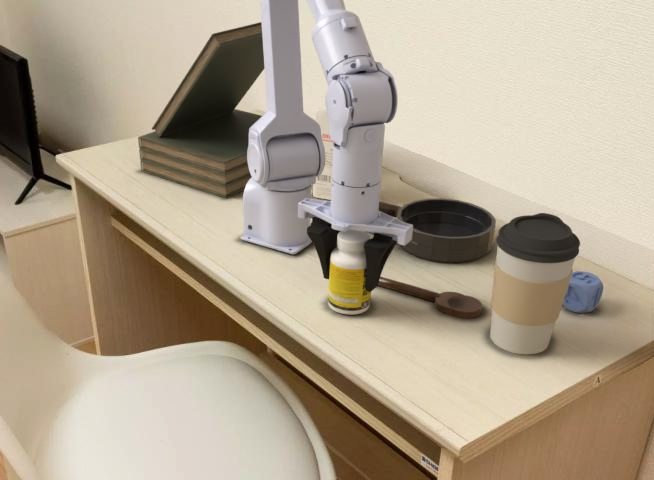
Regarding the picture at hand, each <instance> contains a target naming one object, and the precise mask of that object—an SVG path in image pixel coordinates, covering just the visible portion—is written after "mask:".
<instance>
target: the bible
mask: <svg viewBox="0 0 654 480" xmlns="http://www.w3.org/2000/svg"><path fill="white" fill-rule="evenodd" d="M263 71H265V69H264V53H263V38H262V23H261V21H260V22H255V23H251V24H248V25H244V26H243V25H242V26H238V27H236V28H230V29H226V30H222V31H218V32H215V33H212V34H211V35H210V36H209V39H208V40H207V42H206V43H205V45H204V46H203V48H202V49H201V51H200V52H199V54H198V55H197V57H196V59H195V60H194V62H193V63H192V65H191V66H190V68H189V70H188V71H187V72H186V74H185V76H184V77H183V79H182V81H180V84H179V85H178V87H177V88H176V90H175V91H174V93H173V94H172V96H171V97H170V99H169V100H168V102H167V104H166V105H165V107H164V109H163V110H162V112H161V113H160V115H159V116H158V118H157V119H156V121H155V122H154V124H153V126H152V127H151V130H152V132H149V133H146V134H143V135H140V136H138V137H137V138H138V139H137V140H138V148H139V149H138V151H139V152H138V154H139V159H140V160H139V161H140V171H141V172H143V173H145V174H149V175H152V176H155V177H157V178H160V179H164V180H167V181H170V182H173V183H176V184H179V185H183V186H186V187H189V188H192V189H195V190H199V191H201V192H204V193H207V194H211V195H214V196H217V197H220V198H222V199H228V198H230V197H232V196H235V195H237V194H239V193H241V192H244V189H245V186H246V184H247V182H248V181H249V180H250V178H251V177H252V176H251V174H250V171H249V167H248V161H247V150H248V145H249V129H250V127H251V126H252V125H253V124H254V123H256V122H257V121H258V120H259V119H260V118H261V117H262V116H263V115H261V114H257V113H253V112H248V111H244V110H241V109H238V108H237V107H238V105H239V104H240V103H241V101H242V100H243V98H244V97H245V96H246V94H247V93H248V92H249V90H250V89H251V88H252V87H253V85H254V83H255V82H256V81H257V80H258V78H259V77H260V75H261V74H262V73H263ZM236 108H237V109H236ZM296 134H302V133H296ZM287 135H294V134H287ZM279 136H286V135H279ZM274 137H278V136H274Z"/></svg>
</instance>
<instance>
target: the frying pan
mask: <svg viewBox="0 0 654 480" xmlns="http://www.w3.org/2000/svg"><path fill="white" fill-rule="evenodd" d="M400 207H401V208H400V209H399V210H398V213H397V217H396V218H395V219H398V220H400V221H402V222H405V223H408V224H411V225H413V232H412V240H411V241H410V242H409V243H408V244H406V245H405V246H404V245H400V244H398V245H399V246H400V247H401V248H402V249H403V250H405V251H406V252H408V253H409V254H411V255H413V256H415V257H418V258H422V259H425V260H428V261H433V262H438V263H463V262H464V263H465V262H469V261H473V260H476V259H479V258H480V257H483V256H485V255H486V254H488V253H489V252H490V251H491V250H492V249H493V245H494V238H495V232H496V224H497V219H496V218H495V217H494V215H493V213H491V212H490V211H489V210H488V209H485V208H484V207H482V206H479V205H477V204H474V203H471V202H467V201H463V200H459V199H451V198H444V197H443V198H442V197H441V198H440V197H439V198H432V197H431V198H422V199H416V200H413V201H410V202H407V203H405V204H403V205H402V206H400Z"/></svg>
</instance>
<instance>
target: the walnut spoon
mask: <svg viewBox="0 0 654 480" xmlns="http://www.w3.org/2000/svg"><path fill="white" fill-rule="evenodd" d="M378 286H380V287H382V288H386V289H389V290H393V291H397V292H400V293H403V294H406V295H410V296H414V297H418V298H420V299H424V300H427V301H431V302H433V303H434V307H435V309H436V310H438V311H439V312H441V313H443V314H447V315H452V316H454V317H457V318H461V319H473V318H476V317H479V316H480V315H481V313H482V311H483V310H482V309H483V304H482V302H481V300H480V299H478V298H476V297H474V296H470V295H467V294H466V295H465V294H463V293H460V292H456V291H443V292H440V293H439V292H436V291H433V290H429V289H425V288H422V287H419V286H415V285H411V284H408V283H405V282H402V281H397V280H395V279H391V278H387V277H383V276H380V279H379V283H378Z"/></svg>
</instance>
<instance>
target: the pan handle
mask: <svg viewBox="0 0 654 480" xmlns="http://www.w3.org/2000/svg"><path fill="white" fill-rule="evenodd" d="M401 207H402V206H400V205H397V204H391V203H389V202H385V201H381V200H379V211H381V212H383V213H385V214H387V215H389V216H391V217H393V218H395V219H396V217H397V213H398V210H399V209H400V208H401Z"/></svg>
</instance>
